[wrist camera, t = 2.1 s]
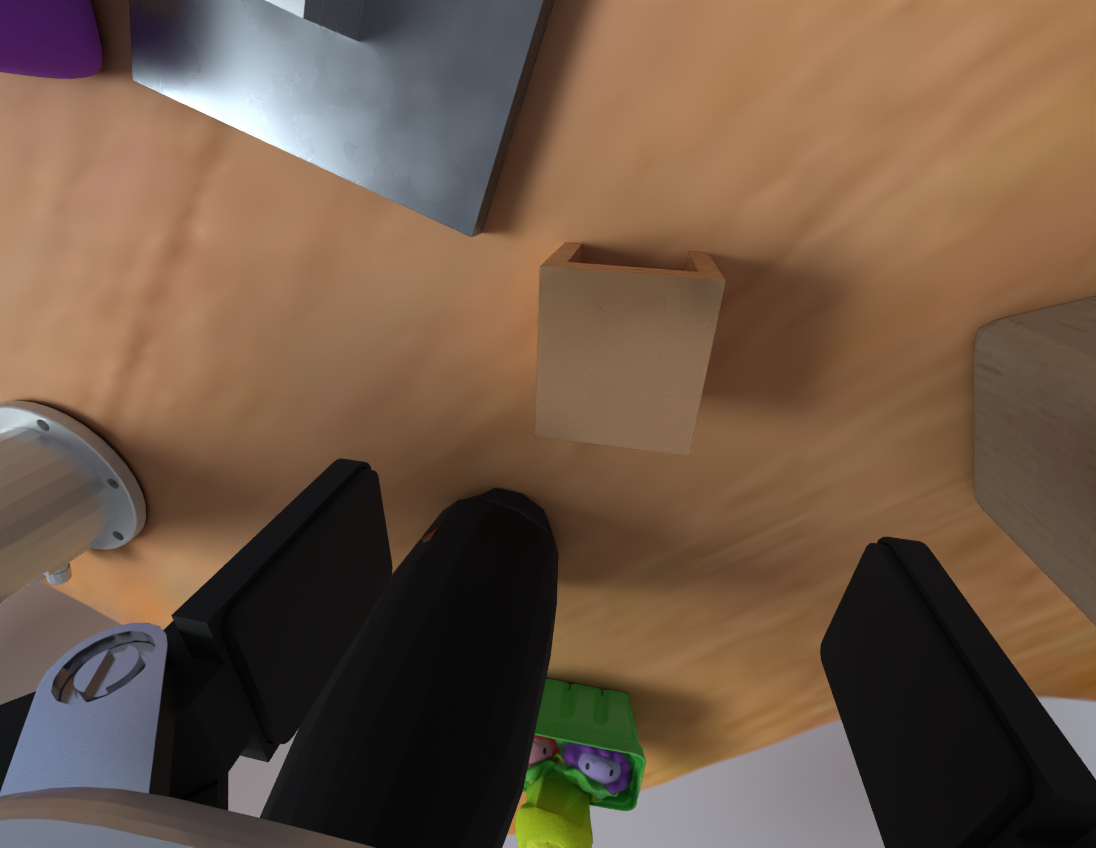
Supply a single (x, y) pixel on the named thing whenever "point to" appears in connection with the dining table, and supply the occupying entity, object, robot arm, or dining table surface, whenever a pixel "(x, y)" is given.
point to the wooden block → (1041, 439)
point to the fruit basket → (578, 765)
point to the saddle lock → (624, 350)
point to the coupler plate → (358, 85)
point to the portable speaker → (435, 691)
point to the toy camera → (49, 38)
